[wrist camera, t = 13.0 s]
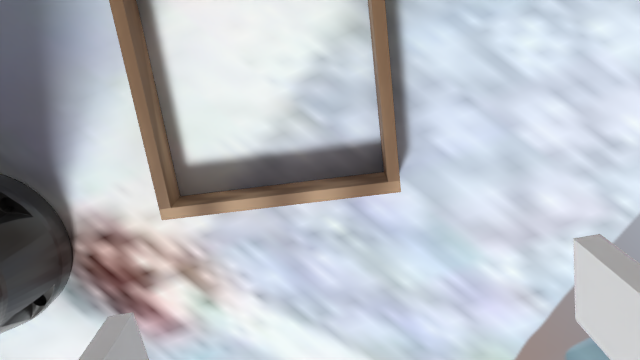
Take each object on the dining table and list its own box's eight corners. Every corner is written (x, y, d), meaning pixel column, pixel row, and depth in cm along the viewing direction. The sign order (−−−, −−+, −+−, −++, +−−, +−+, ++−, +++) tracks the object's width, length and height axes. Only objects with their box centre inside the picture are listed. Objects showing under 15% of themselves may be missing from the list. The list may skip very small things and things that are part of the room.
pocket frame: (171, 207, 46) (161, 220, 43) (116, -33, 40) (100, -38, 37) (395, 181, 45) (400, 191, 42) (374, -70, 39) (378, -77, 36)
